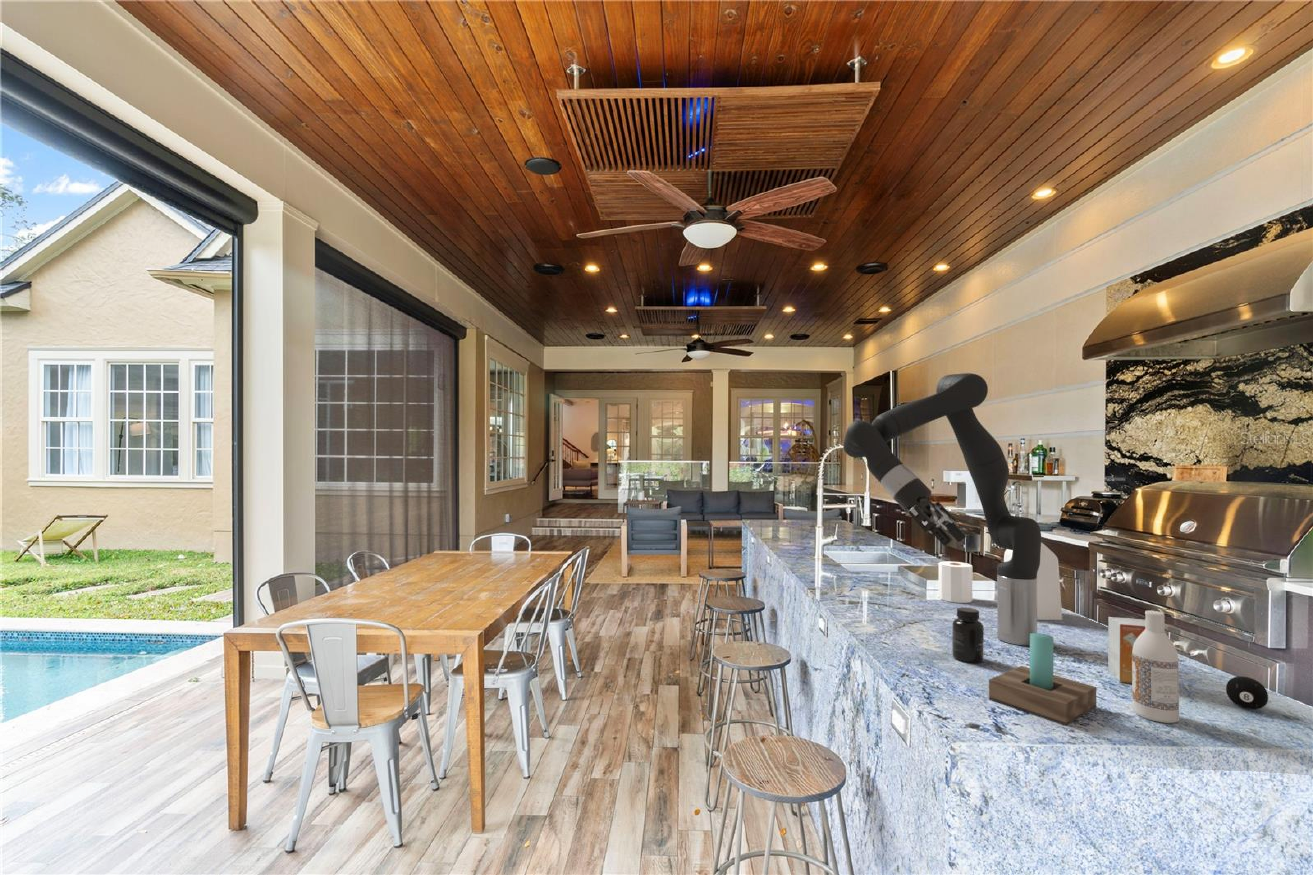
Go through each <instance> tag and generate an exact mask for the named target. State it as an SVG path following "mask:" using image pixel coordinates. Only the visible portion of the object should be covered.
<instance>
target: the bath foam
mask: <svg viewBox="0 0 1313 875" xmlns="http://www.w3.org/2000/svg"><path fill="white" fill-rule="evenodd" d="M1144 614H1145V619H1144V620H1145V630H1144V631H1143V632H1142V633H1141V634H1140V635H1139V637H1138V638H1137V639H1136V641H1135V642H1134V645H1133V649H1132V683H1131V684H1132V685H1131V686H1132V687H1131V688H1132V690H1131V691H1132V694H1131V695H1132V710H1133V712H1134V713H1135V714H1136V715H1138V716H1139V717H1142V718H1144V719H1146V720H1149V721H1153V722H1157V723H1162V724H1163V723H1164V724H1165V723H1166V724H1173V723H1177V722H1179V720H1180V672H1179V671H1180V669H1179V668H1180V665H1179V653H1178V651H1177V648H1176V647H1175V645H1174V643H1173V642H1172V641H1171V639H1170V638H1169V636H1168V635H1167V633H1166V632H1165V628H1166V627H1165V626H1166V625H1165V620H1166V619H1165V613H1164V612H1162V611H1157V610H1145V612H1144Z"/></svg>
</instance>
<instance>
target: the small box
mask: <svg viewBox="0 0 1313 875" xmlns="http://www.w3.org/2000/svg"><path fill="white" fill-rule="evenodd" d="M1107 620H1108V623H1107V624H1108V625H1107V627H1108V629H1107V630H1108V633H1107V634H1108V635H1107V637H1108V640H1107V641H1108V642H1107V643H1108V644H1107V646H1108V647H1107V650H1108V652H1107V654H1108V655H1107V656H1108V661H1107V662H1108V664H1107V665H1108V669H1107V670H1108V673H1109V674H1110V675H1111V676H1112V677H1113V678H1114V679H1115V680H1117V681H1118V682H1120V683H1128V684H1132V649H1133V645H1134V642H1135V641H1136V639H1137V638H1138V637H1139V635H1140V634H1141V633H1142V632H1143V631H1144V630H1145V619H1140V618H1132V617H1118V616H1117V617H1115V616H1114V617H1113V616H1112V617H1111V616H1108V619H1107Z"/></svg>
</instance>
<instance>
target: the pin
mask: <svg viewBox="0 0 1313 875" xmlns="http://www.w3.org/2000/svg"><path fill="white" fill-rule="evenodd" d="M1029 668H1030V685H1032V686H1036V687H1039V688H1042V689H1046V690H1049V691H1052V690H1053V675H1054V636H1051V635H1049V634H1047V633H1040V632H1037V633H1031V634H1030V645H1029Z"/></svg>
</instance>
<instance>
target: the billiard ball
mask: <svg viewBox="0 0 1313 875" xmlns="http://www.w3.org/2000/svg"><path fill="white" fill-rule="evenodd" d="M1225 691H1226V692H1225V693H1226V694H1227V697H1228V698H1229V700H1230V701H1231V702H1232V703H1234V704H1235V705H1236V706H1239V707H1240V708H1242V709H1243V708H1244V709H1247V710H1259V709H1263V708H1264V707H1265V706H1266V705H1267V704H1268V701H1269V693H1268V691H1267V689H1266V688H1265V686H1264V685H1263V684H1262V683H1261V682H1259V681H1258V680H1256V679H1254V678H1252V677H1248V676H1233V677H1231V678H1230V679H1229V680H1228V681H1227V683H1226V686H1225Z"/></svg>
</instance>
